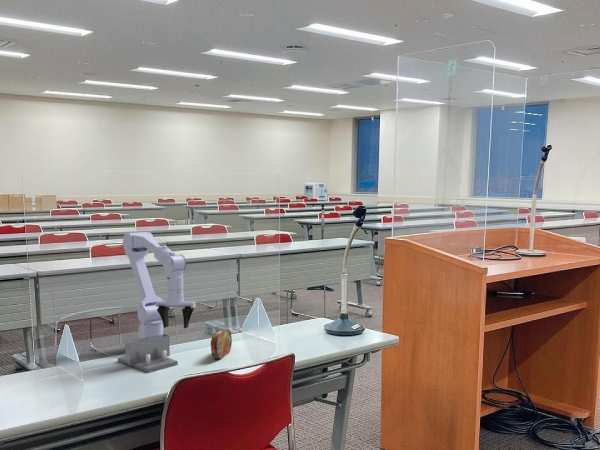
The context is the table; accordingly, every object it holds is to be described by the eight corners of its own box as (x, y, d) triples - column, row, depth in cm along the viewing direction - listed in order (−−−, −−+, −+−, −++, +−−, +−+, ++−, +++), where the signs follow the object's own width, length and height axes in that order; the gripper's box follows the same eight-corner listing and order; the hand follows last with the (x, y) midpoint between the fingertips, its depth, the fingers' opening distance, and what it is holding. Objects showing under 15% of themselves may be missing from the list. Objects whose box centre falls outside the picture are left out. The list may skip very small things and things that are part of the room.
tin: (218, 361, 179) (217, 337, 179) (209, 361, 180) (208, 336, 179) (232, 349, 194) (232, 326, 193) (224, 349, 194) (224, 326, 194)
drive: (125, 362, 176) (125, 341, 175) (165, 354, 185) (164, 334, 184) (130, 364, 173) (129, 343, 173) (169, 356, 182) (169, 335, 182)
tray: (117, 361, 181) (117, 348, 181) (146, 354, 189) (146, 341, 189) (148, 372, 168) (147, 358, 168) (177, 364, 176) (177, 351, 176)
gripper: (198, 287, 191) (199, 325, 192) (161, 287, 194) (162, 323, 195) (190, 291, 184) (191, 330, 185) (152, 290, 187) (153, 328, 188)
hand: (176, 327), depth 189 cm, fingers open, 7 cm apart
